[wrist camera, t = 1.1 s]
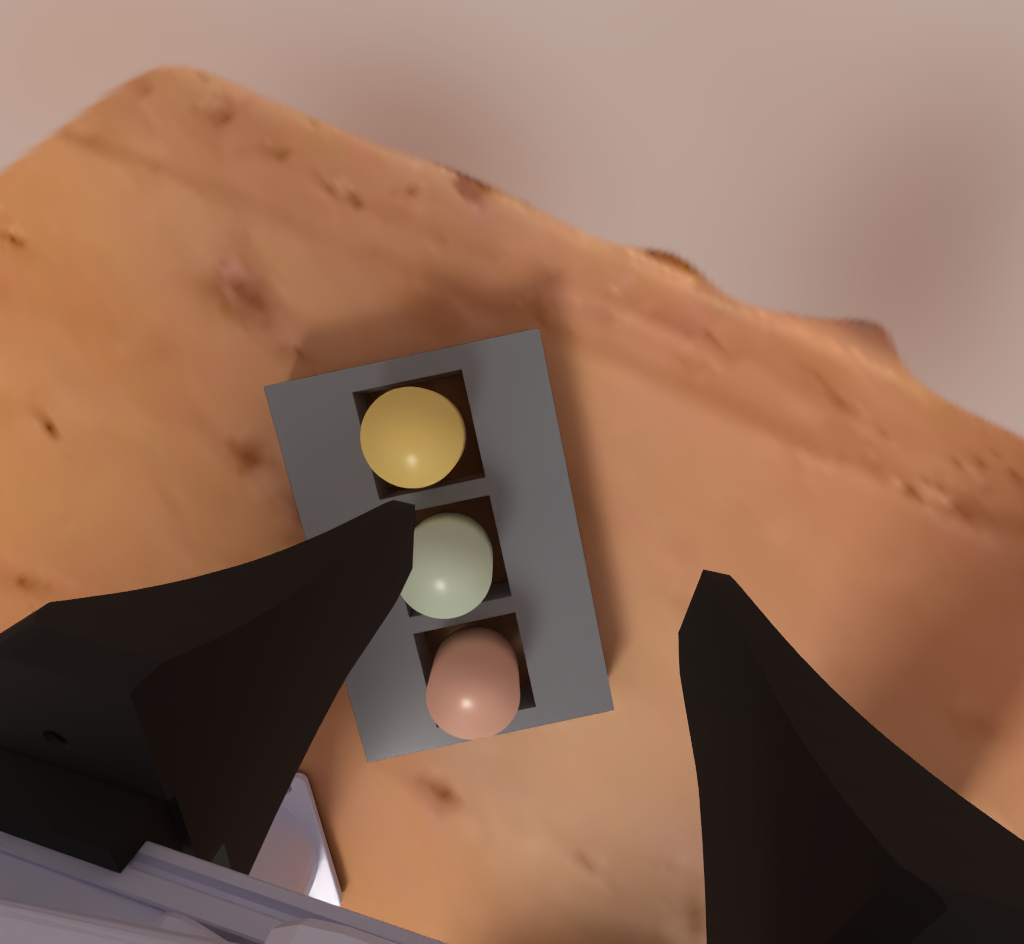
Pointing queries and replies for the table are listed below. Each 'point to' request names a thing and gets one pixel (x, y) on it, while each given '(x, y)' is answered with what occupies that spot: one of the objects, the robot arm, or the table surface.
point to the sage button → (449, 566)
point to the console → (506, 478)
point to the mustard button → (412, 437)
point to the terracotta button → (474, 684)
